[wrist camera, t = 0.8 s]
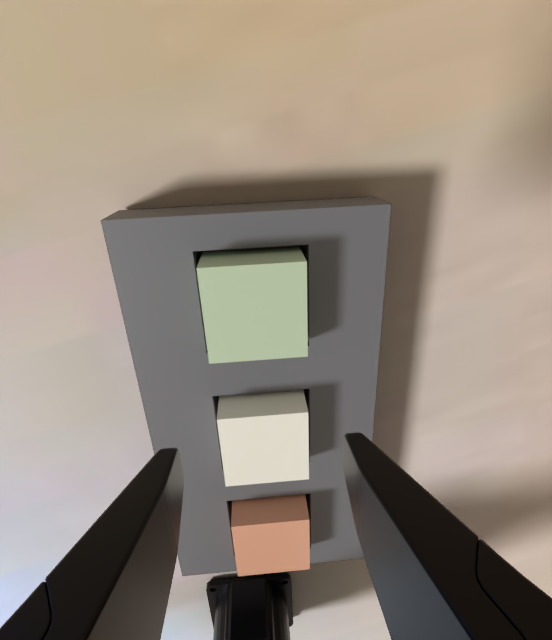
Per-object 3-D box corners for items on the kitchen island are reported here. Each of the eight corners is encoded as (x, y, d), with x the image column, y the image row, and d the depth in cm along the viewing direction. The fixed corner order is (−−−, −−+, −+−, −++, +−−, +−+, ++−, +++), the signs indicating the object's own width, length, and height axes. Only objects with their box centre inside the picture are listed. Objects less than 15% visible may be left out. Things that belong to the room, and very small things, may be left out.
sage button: (300, 331, 20) (307, 356, 17) (213, 337, 19) (209, 363, 17) (298, 246, 18) (306, 261, 16) (202, 252, 18) (196, 268, 15)
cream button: (302, 445, 23) (309, 479, 21) (227, 452, 23) (225, 486, 20) (301, 382, 21) (308, 412, 19) (219, 389, 21) (216, 419, 18)
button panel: (353, 524, 28) (362, 558, 26) (187, 540, 28) (182, 576, 25) (373, 196, 19) (391, 204, 16) (119, 210, 18) (100, 220, 16)
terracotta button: (304, 532, 26) (309, 569, 24) (238, 538, 26) (237, 576, 24) (303, 484, 24) (309, 519, 22) (232, 490, 24) (231, 526, 22)
